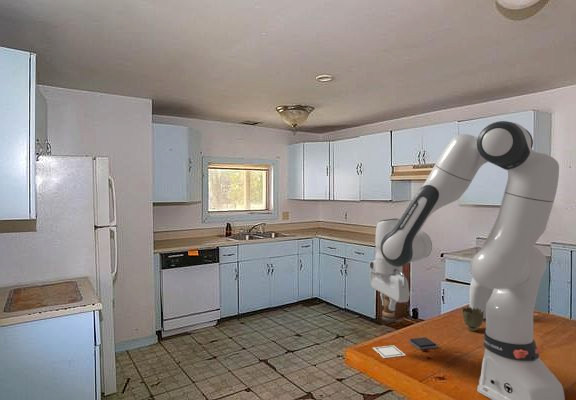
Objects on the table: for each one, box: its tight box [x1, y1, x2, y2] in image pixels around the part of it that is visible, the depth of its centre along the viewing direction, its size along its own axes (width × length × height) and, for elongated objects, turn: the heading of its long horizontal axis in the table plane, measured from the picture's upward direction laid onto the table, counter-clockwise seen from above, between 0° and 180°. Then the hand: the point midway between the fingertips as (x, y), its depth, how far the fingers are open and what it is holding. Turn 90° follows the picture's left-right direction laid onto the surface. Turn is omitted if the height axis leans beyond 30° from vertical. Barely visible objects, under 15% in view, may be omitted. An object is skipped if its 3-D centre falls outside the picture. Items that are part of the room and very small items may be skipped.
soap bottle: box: [468, 277, 493, 320], centre depth 158 cm, size 14×8×27 cm, turn 122°
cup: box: [461, 306, 484, 332], centre depth 144 cm, size 8×7×8 cm
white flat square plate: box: [372, 345, 407, 359], centre depth 125 cm, size 8×8×1 cm
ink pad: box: [408, 336, 439, 351], centre depth 131 cm, size 7×7×1 cm
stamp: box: [381, 294, 396, 323], centre depth 125 cm, size 4×4×10 cm
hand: (388, 308), depth 125 cm, fingers closed on stamp, 3 cm apart
